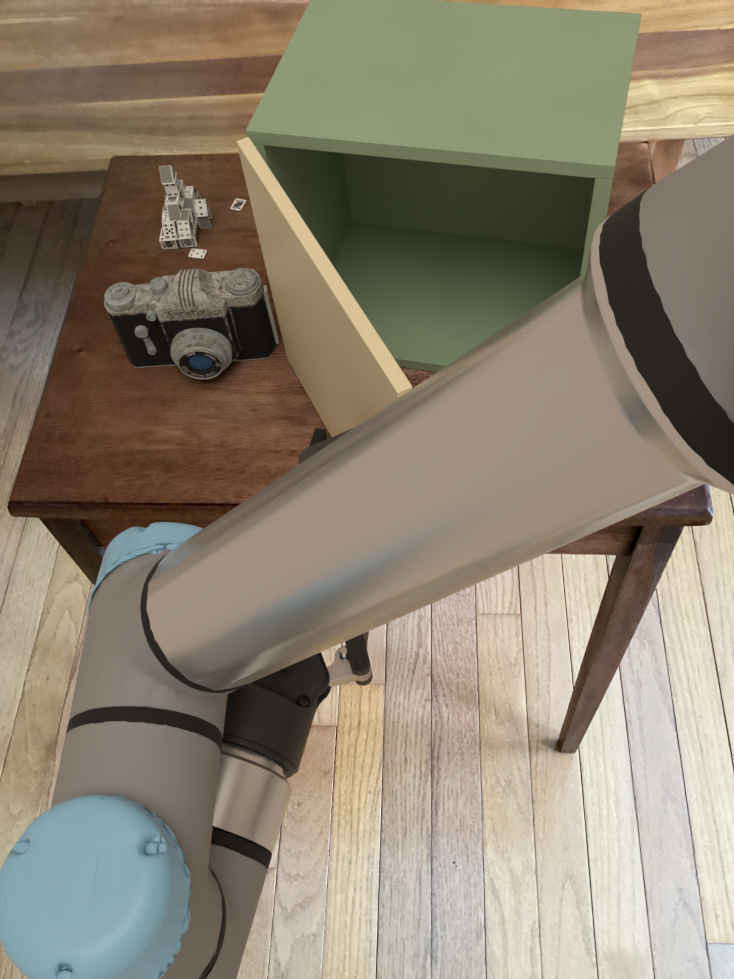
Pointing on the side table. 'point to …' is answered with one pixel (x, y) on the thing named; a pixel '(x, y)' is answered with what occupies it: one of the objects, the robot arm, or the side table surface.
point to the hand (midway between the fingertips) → (340, 443)
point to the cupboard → (448, 156)
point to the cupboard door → (318, 314)
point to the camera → (194, 320)
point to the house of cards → (184, 213)
